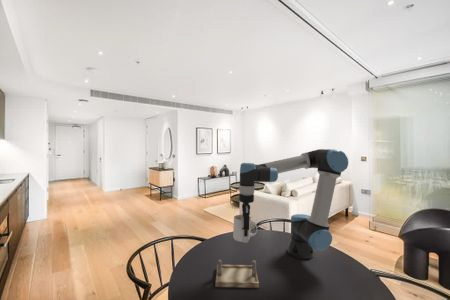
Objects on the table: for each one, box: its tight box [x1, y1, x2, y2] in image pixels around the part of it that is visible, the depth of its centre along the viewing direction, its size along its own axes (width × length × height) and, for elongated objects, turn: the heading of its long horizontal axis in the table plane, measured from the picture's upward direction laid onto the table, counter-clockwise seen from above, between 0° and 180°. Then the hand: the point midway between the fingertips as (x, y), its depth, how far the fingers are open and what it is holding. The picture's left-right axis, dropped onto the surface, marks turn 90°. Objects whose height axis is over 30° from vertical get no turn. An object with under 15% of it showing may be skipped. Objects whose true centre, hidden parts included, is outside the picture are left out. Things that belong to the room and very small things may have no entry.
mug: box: [232, 214, 258, 243], centre depth 104 cm, size 9×12×11 cm
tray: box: [215, 259, 260, 289], centre depth 101 cm, size 20×14×8 cm
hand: (244, 238), depth 104 cm, fingers closed on mug, 9 cm apart
